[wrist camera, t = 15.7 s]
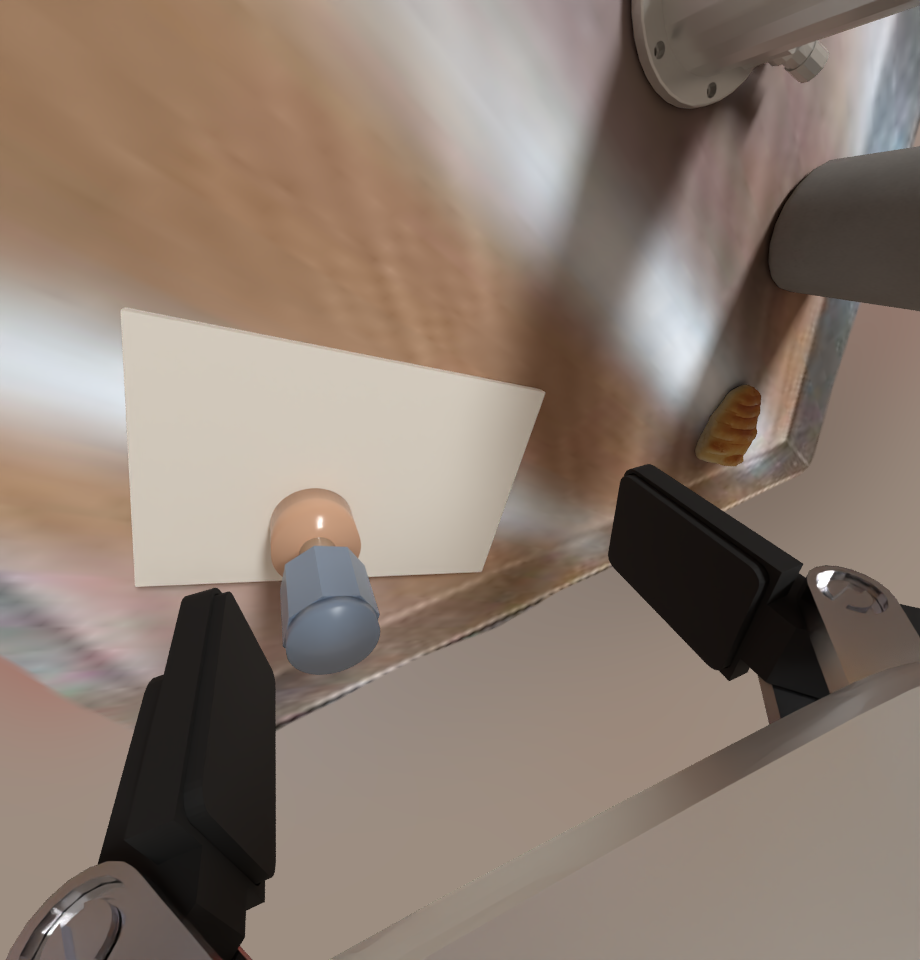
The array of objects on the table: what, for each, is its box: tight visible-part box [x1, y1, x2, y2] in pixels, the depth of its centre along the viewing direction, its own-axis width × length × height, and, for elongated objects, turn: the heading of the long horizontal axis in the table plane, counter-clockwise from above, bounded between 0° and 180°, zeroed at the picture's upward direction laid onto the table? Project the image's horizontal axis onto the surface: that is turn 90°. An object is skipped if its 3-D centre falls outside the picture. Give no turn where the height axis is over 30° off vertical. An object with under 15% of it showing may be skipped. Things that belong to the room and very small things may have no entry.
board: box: [121, 307, 546, 587], centre depth 35 cm, size 30×20×1 cm, turn 73°
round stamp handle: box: [270, 488, 361, 577], centre depth 30 cm, size 6×6×11 cm
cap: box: [280, 546, 380, 675], centre depth 28 cm, size 6×6×6 cm
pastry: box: [695, 385, 761, 466], centre depth 49 cm, size 9×7×4 cm
